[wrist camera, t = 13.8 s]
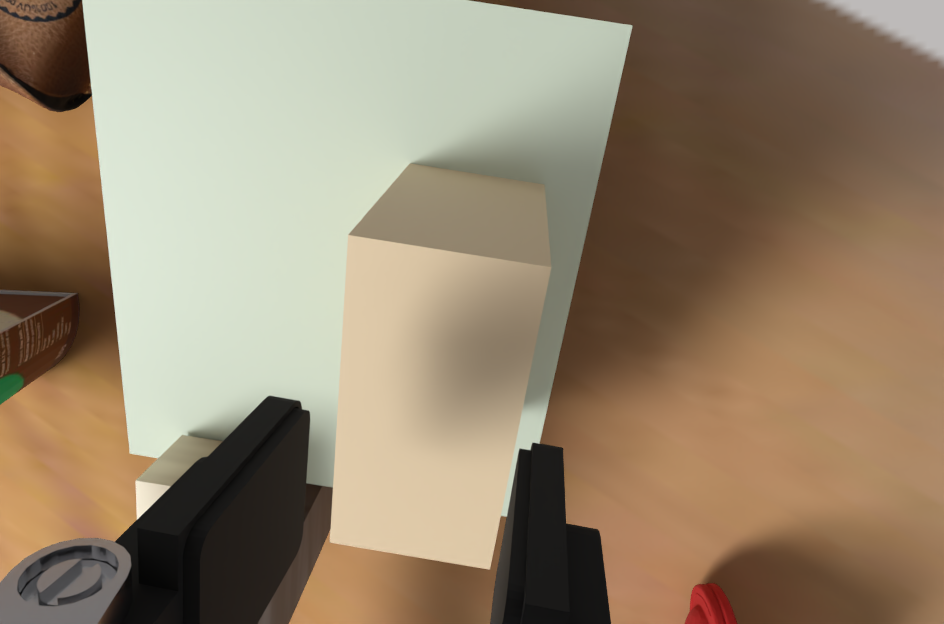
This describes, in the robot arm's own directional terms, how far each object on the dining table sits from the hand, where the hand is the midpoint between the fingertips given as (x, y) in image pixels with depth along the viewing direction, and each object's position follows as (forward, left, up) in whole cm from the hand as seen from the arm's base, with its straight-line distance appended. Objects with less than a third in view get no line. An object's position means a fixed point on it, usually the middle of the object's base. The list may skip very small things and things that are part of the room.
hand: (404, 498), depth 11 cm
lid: (+4, -1, -11) cm, 12 cm away
